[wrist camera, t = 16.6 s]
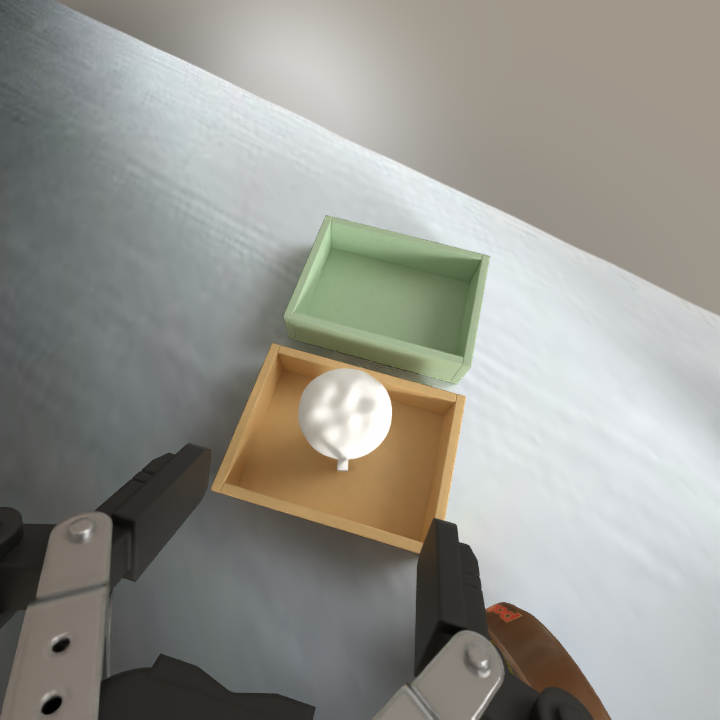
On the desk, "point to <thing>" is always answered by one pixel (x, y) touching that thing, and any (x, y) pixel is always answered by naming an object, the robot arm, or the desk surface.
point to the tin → (538, 656)
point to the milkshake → (344, 416)
